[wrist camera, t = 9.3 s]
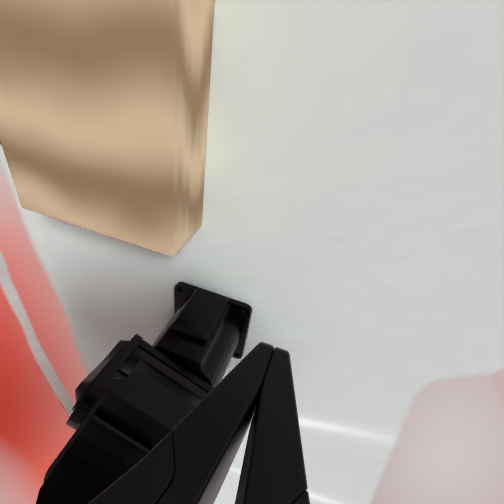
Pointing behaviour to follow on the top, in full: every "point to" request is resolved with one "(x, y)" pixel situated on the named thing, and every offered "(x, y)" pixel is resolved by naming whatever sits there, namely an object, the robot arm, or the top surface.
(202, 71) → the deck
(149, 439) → the robot arm
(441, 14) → the top surface
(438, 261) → the top surface
